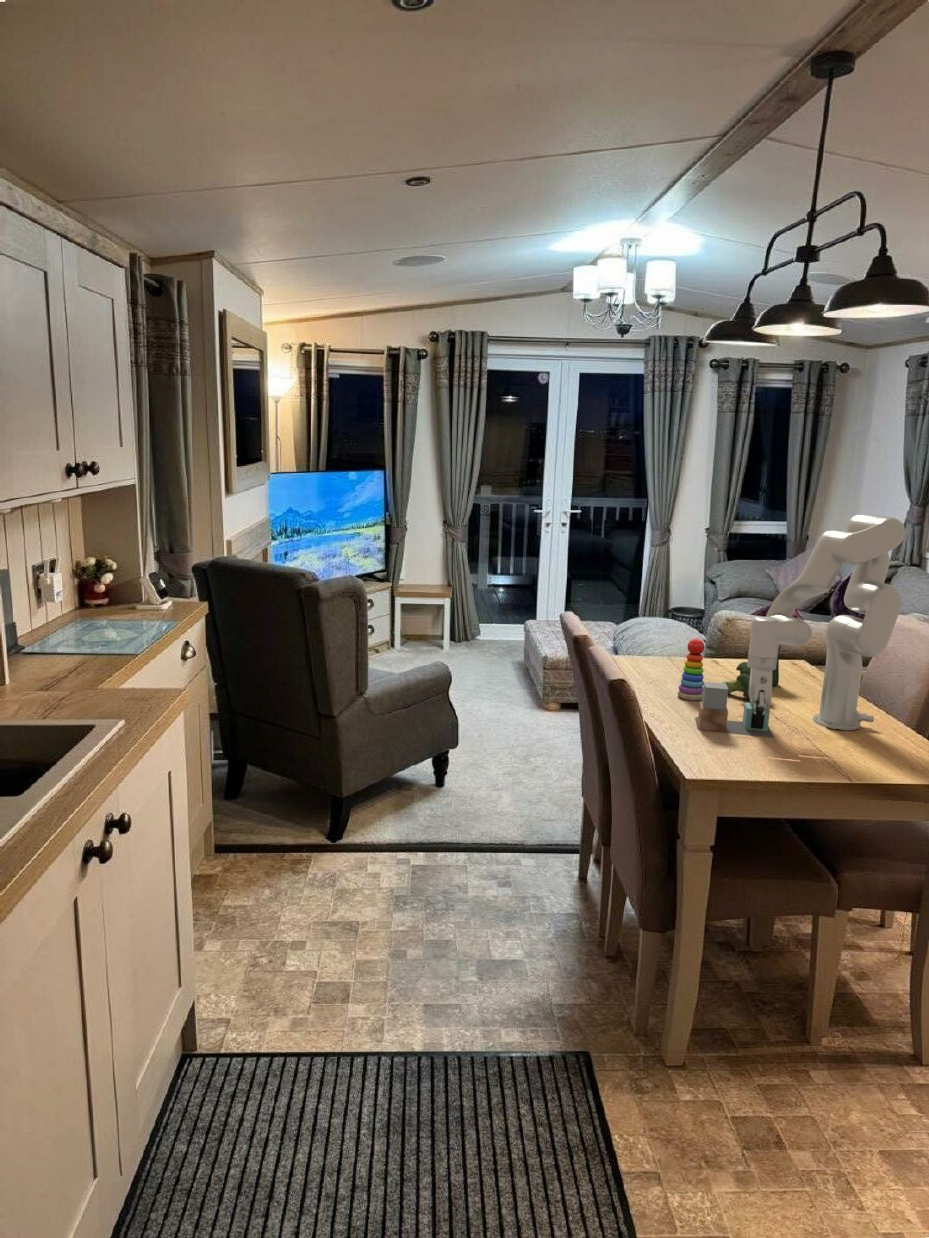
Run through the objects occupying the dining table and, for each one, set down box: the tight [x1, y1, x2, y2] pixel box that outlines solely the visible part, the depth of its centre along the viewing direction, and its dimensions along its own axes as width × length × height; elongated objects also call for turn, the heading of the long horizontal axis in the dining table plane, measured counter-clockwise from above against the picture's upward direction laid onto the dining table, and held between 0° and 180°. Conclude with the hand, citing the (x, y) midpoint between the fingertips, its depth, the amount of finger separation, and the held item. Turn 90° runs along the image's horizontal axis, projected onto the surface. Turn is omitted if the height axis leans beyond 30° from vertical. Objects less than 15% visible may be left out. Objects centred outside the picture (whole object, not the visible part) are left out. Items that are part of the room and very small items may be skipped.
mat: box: [694, 716, 775, 739], centre depth 239 cm, size 20×12×1 cm, turn 79°
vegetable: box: [721, 661, 751, 701], centre depth 270 cm, size 12×13×15 cm
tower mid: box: [701, 681, 729, 710], centre depth 236 cm, size 6×6×6 cm
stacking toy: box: [677, 638, 705, 701], centre depth 266 cm, size 8×8×19 cm
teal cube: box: [741, 702, 771, 732], centre depth 239 cm, size 6×6×6 cm
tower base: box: [698, 701, 729, 733], centre depth 237 cm, size 7×7×6 cm
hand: (755, 723), depth 240 cm, fingers open, 6 cm apart
